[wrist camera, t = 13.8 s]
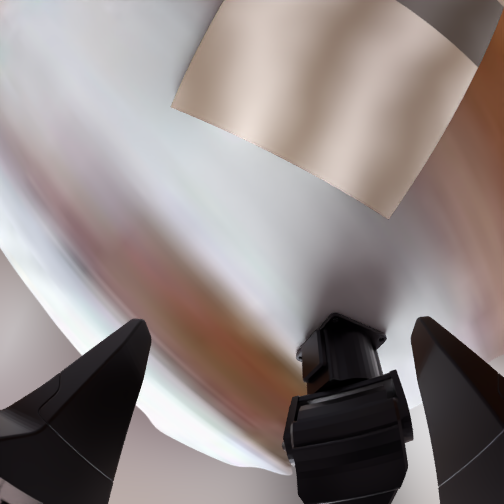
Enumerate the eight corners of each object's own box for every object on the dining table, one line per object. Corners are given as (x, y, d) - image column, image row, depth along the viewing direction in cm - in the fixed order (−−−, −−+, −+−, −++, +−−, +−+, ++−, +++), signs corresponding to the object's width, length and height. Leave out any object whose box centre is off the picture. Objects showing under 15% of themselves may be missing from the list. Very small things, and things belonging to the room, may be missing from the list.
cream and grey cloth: (499, -3, 10) (508, -5, 9) (383, 212, 20) (388, 219, 19) (317, -116, 8) (319, -124, 7) (176, 106, 18) (170, 107, 17)
